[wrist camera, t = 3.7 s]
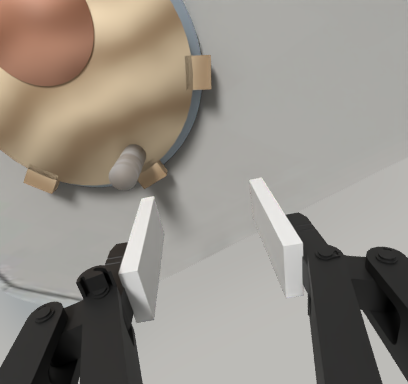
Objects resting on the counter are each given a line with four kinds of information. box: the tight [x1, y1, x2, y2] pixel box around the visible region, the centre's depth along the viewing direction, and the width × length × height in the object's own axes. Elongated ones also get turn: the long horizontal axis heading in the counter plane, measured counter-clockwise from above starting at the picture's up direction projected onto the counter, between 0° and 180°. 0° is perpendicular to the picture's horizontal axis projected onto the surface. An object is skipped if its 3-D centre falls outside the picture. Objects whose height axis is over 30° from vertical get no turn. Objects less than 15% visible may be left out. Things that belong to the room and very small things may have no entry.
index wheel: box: [0, 0, 211, 194], centre depth 24 cm, size 25×24×8 cm
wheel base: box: [60, 0, 202, 187], centre depth 27 cm, size 29×24×3 cm
